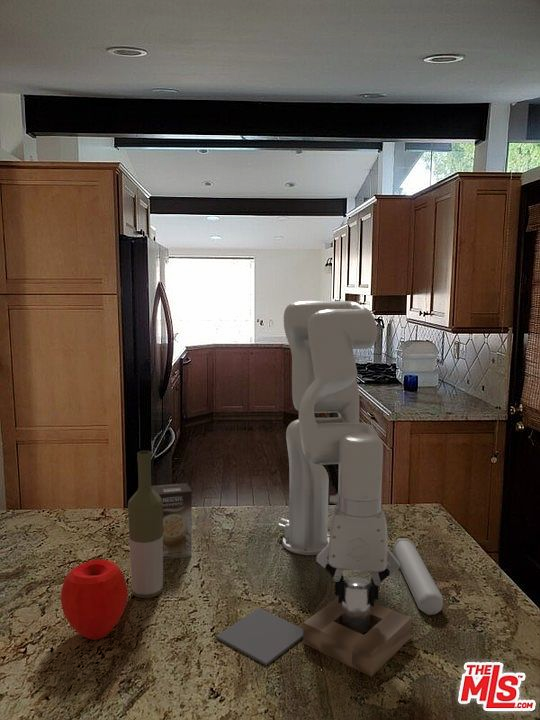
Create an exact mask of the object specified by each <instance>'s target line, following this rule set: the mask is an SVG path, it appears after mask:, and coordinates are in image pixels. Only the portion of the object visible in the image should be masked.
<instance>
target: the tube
mask: <svg viewBox="0 0 540 720" xmlns="http://www.w3.org/2000/svg"><path fill="white" fill-rule="evenodd" d="M392 554H393V555H394V557H395V558H396V559H397V560H398V562H399V565H400V568H399V570H400V571H401V572H402V575H403V577H404V579H405V582H406V583H407V586H408V587H409V590H410V592H411V594H412V596H413V599H414V601H415V603H416V605H417V607H418V608H417V609H419V610H420V611H421V612H423V613H424V614H426V615H428V616H433V615H437V614H438V613H439V612H441V611H442V608H443V604H444V597H443V595H442V594H441V591H440V589H439V588H438V587H437V585H436V582H435V581H434V579H433V577H432V576H431V574H430V571H429V569H428V568H427V566H426V564H425V563H424V561H423V559H422V557H421V555H420V554H419V551H418V550H417V548H416V544H415V543H414V542H413V541H411V540H410V539H409V538H398V539H397V540H395V542H394V543H393V545H392Z"/></svg>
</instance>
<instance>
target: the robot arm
mask: <svg viewBox="0 0 540 720" xmlns="http://www.w3.org/2000/svg"><path fill="white" fill-rule="evenodd" d="M375 319H376V318H375V317H374V315H373V313H372V312H371V311H370V310H369V309H368V308H366V307H365V306H364V305H361V304H360V303H358V302H357V301H351V300H301V301H296V302H292V303H290V304H289V305H287V306H286V307H285V310H284V312H283V329H284V332H285V337H286V339H287V342H288V345H289V349H290V353H291V358H292V361H291V388H292V389H291V393H292V394H291V396H292V403H293V407H294V409H295V410H296V411H298V419H295V420H293V421H291V422H290V423H289V424H288V426H287V428H286V431H285V432H286V433H285V439H286V447H287V453H288V454H287V455H288V465H289V466H288V467H289V472H288V473H289V481H288V482H289V483H288V485H289V488H288V490H289V491H288V492H289V494H288V497H289V498H288V499H289V501H288V502H289V503H288V519H287V518H284V517H282V518H280V520H279V523H278V524H277V529H279V530H282V531H284V532H285V533H284V534H285V535H284V536H283V537H282V541H281V542H282V546H283V547H284V549H286V550H287V551H289V552H291V553H294V554H297V555H302V556H316V559H315V561H316V563H317V564H319V565H320V566H321V567H322V568H323V569H325V570H326V572H327V573H328V574H329V575H330V576H331V577H332V579H333V581H334V596H338V597H339V598H338V597H337V598H338V603H341V602H343V581H344V580H345V579H344V577H345V575H343V572H344V570H346V571H357V572H369V573H370V574H371V578H370V583H371V592H370V605H371V606H374V603H375V600H379V595H380V594H379V590H380V585H381V583H382V582H383V581H384V580H386V579H387V578H388V577H389V576H390V575H391V574H393V573H395V572H396V571H398V570H400V565H399V562H398V560H397V559H396V558H395V556H394V555H393V552H391V550H390V548H388V527H387V526H388V524H387V519H386V514H385V511H384V510H383V509H382V483H383V482H382V481H383V461H384V460H383V457H384V444H383V440H382V439H381V437H379V434H378V432H377V431H376V429H375V428H374V427H373V425H372V424H369V423H366V422H360V388H359V384H358V382H357V377H358V369H357V364H356V359H355V355H354V350H368V349H371V348H373V346H375V343H376V342H377V338H378V326H377V322H376V320H375ZM321 413H322V414H323V413H329V414H330V413H337V415H338V417H315V414H321ZM323 465H338V481H337V482H338V483H337V484H338V485H337V486H338V487H337V489H338V490H337V493H336V494H334V495H329V485H330V484H329V483H330V481H329V479H330V478H329V473H328V472H327V469H326V468H325V466H323ZM329 504H333V505H335V507H334V509H333V511H332V515H331V520H330V525H329V524H328V523H329ZM328 525H329V526H330V528H329V530H328V527H329V526H328ZM328 531H329V533H328ZM387 563H388V564H387Z"/></svg>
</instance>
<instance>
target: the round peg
mask: <svg viewBox="0 0 540 720" xmlns="http://www.w3.org/2000/svg"><path fill="white" fill-rule="evenodd" d="M370 592H371V581H369V580H368V579H366V578H364V577H359V576H349V577H347V578H345V579H344V581H343V602H342V625H343V626H345V627H347V628H350V629H352V630H354V631H356V632H359V633H361V634H364V633H365V634H366V632H367V631H368V630H369V628H370Z"/></svg>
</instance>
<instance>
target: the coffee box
mask: <svg viewBox="0 0 540 720" xmlns="http://www.w3.org/2000/svg"><path fill="white" fill-rule="evenodd" d="M151 487H152V489H153V490H154V491H155V492H156V493H157V494H158V495H159V496H160V497H161V499H162V502H163V561H165V560H171V559H181V558H189V557H192V555H193V554H192V552H193V551H192V545H193V544H192V537H193V536H192V533H193V532H192V531H193V530H192V527H193V525H192V512H193V511H192V506H193V505H192V500H193V499H192V495H193V492H192V490H191V487H190V485H188V483H187V482H183V483H170V484H169V483H168V484H159V485H157V484H156V485H151Z"/></svg>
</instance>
